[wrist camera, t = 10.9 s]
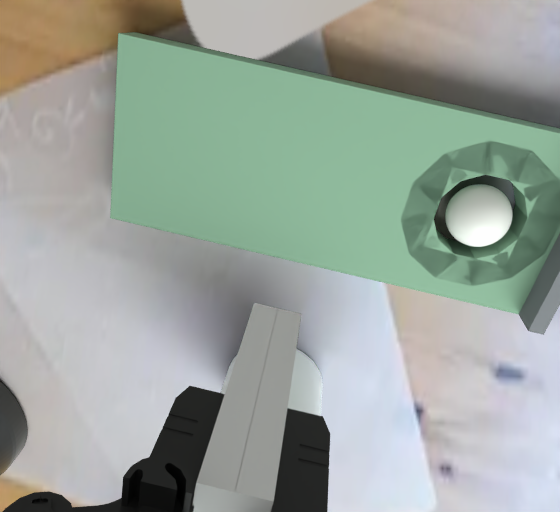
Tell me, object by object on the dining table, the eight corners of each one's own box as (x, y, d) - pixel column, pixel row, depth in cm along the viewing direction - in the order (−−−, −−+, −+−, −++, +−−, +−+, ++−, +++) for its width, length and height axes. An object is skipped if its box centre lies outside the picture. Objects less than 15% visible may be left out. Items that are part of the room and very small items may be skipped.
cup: (253, 326, 40) (200, 498, 26) (340, 371, 41) (337, 562, 26) (212, 391, 43) (146, 575, 29) (293, 431, 44) (267, 629, 30)
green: (124, 205, 36) (97, 228, 32) (134, 32, 31) (103, 34, 27) (521, 298, 36) (543, 334, 32) (601, 138, 30) (640, 156, 26)
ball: (493, 265, 32) (498, 216, 34) (522, 232, 29) (525, 180, 30) (433, 248, 32) (440, 201, 34) (454, 214, 29) (461, 164, 31)
